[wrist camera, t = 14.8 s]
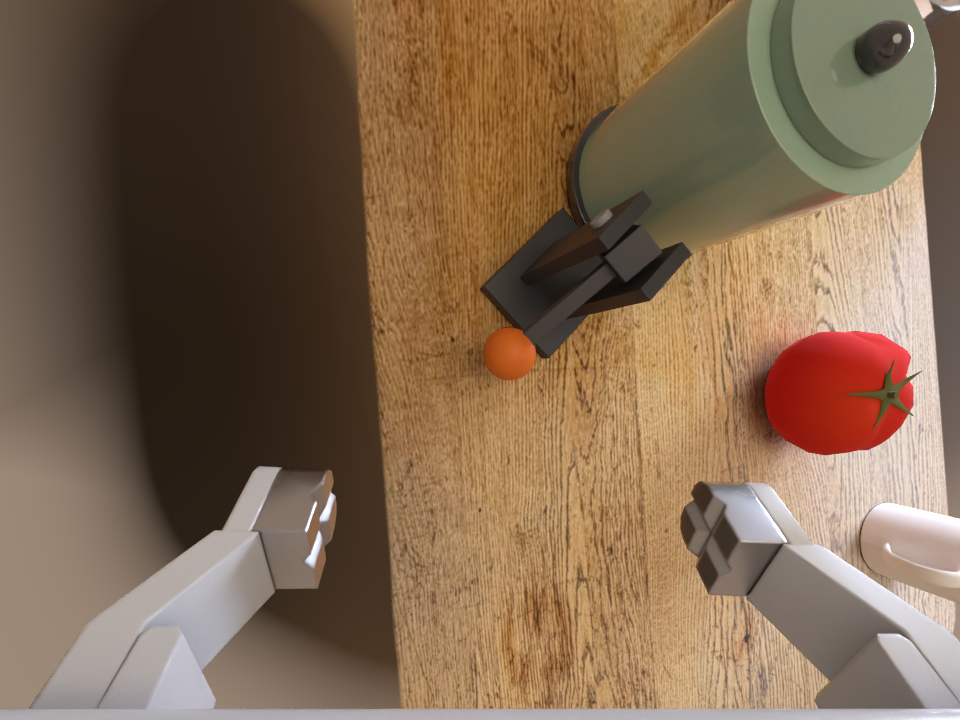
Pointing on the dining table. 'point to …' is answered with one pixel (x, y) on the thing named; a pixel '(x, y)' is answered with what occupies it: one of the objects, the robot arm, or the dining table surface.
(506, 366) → the switch
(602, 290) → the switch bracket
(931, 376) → the dining table surface
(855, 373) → the tomato
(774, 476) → the dining table surface
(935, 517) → the mug
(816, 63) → the green canister
